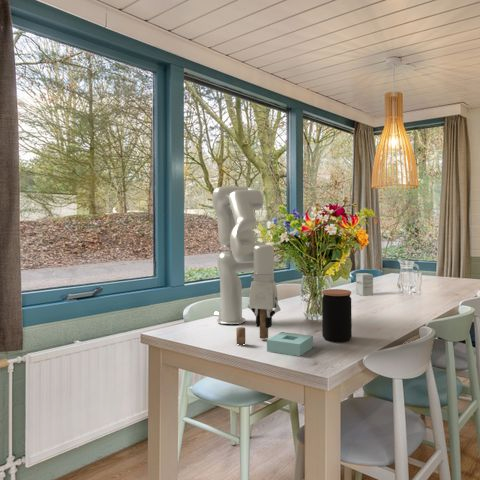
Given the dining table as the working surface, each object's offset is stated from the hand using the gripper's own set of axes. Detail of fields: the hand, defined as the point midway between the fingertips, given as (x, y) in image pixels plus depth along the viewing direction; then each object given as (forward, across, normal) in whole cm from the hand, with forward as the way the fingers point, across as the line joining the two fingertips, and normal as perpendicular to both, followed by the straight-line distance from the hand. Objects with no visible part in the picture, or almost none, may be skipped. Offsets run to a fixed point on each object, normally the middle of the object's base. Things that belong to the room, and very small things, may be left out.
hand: (263, 326), depth 163 cm
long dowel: (+4, 0, 0) cm, 4 cm away
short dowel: (+5, -4, -10) cm, 12 cm away
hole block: (+5, +14, -6) cm, 16 cm away
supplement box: (+7, +7, +118) cm, 118 cm away
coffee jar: (+5, +24, +14) cm, 28 cm away
